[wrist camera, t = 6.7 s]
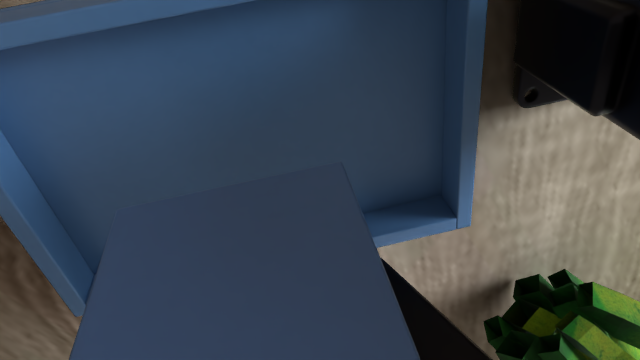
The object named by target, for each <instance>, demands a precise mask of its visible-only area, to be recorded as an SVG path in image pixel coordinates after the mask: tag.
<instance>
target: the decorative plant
mask: <svg viewBox="0 0 640 360" xmlns="http://www.w3.org/2000/svg"><path fill="white" fill-rule="evenodd" d="M548 279H549V280H550V282H551V284H552V286H553V287H552V286H551V285H550V284H549V283H548V282H547V281H546V280H545V279H544V278H543V277H542V276H541V275H540V274H537V275H534V276H530V277H527V278H523V279H520V280H516V281H515V288H514V295H513V298H514V299H515V302H514V304H513V305H512V306H511V307H510V308H509V309H508V311H507V312H506V313H505V314H504V315H503V316H502V318H501V317H500V316H495V317H493V318H490V319H488V320H485V321H483V322H484V326H485V331H486V335H487V340H488V342H489V343H490V344H491V345H492V346H493V347H494V348H495V349H496V354H497V356H498V357H499V359H500V360H640V302H638V301H636V300H634V299H632V298H630V297H628V296H625V295H623V294H621V293H619V292H616V291H614V290H611V289H609V288H606V287H604V286H601V285H599V284H596V283H594V282H590V283H583V282H582V281H581V280H579V279H578V278H577V277H575V276H574V275H572V274H571V273H570V272H568V271H567V270H565V269H563V270H561V271H559V272H557V273H555V274H553V275H551V276H549V277H548ZM635 347H636V348H635Z"/></svg>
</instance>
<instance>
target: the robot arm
mask: <svg viewBox="0 0 640 360" xmlns="http://www.w3.org/2000/svg"><path fill="white" fill-rule="evenodd" d="M514 62H515V63H516V68H515V76H514V84H513V92H512V96H513V99H514V101H515V102H516V103H517V104H519V105H520V106H521V107H523V108H531V107H536V106H541V105H545V104H550V103H555V102H559V101H564V100H570V101H571V102H573V103H574V104H576V105H577V106H579V107H580V108H582V109H583V110H585V111H586V112H588V113H589V114H591V115H593V116H600V115H602V116H604V117H606V118H607V119H609V120H610V121H612V122H613V123H615V124H616V125H618V126H619V127H621V128H622V129H624V130H625V131H627V132H628V133H630V134H632V135H633V136H635V137H636V138H638V139H639V140H640V0H521V2H520V10H519V19H518V27H517V36H516V44H515V53H514ZM531 89H532V91H531V93H530V94H529V95H528V96H526V97H525V94H526V93H527V92H528V91H529V90H531ZM381 261H382V263H383V266H384V269H385V271H386V274H387V276H388V279H389V281H390V284H391V286H392V289H393V291H394V294H395V296H396V299H397V301H398V304H399V306H400V309H401V311H402V314H403V317H404V319H405V322H406V324H407V327H408V329H409V332H410V334H411V337H412V339H413V342H414V344H415V347H416V349H417V352H418V354H419V357H420V360H492V359H491V358H490V357H489V356H488V355H487V354H486V353H485V352H484V351H482V350H481V349H480V348H479V347H478V346H477V345H476V344H475V343H474V342H473V341H472V340H470V339H469V338H468V337H467V336H466V335H465V334H464V333H463V332H462V331H461V330H460V329H458V328H457V327H456V326H455V325H454V324H453V323H452V322H451V321H450V320H449V319H448V318H446V317H445V316H444V315H443V314H442V313H441V312H440V311H439V310H438V309H437V308H435V307H434V306H433V305H432V304H431V303H430V302H429V301H428V300H427V299H426V298H425V297H423V296H422V295H421V294H420V293H419V292H418V291H417V290H416V289H415V288H414V287H413V286H411V285H410V284H409V283H408V282H407V281H406V280H405V279H404V278H403V277H402V276H401V275H399V274H398V273H397V272H396V271H395V270H394V269H393V268H392V267H391V266H390V265H388V264H387V263H386V262H385V261H384V260H383V259H382V258H381Z"/></svg>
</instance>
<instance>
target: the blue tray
mask: <svg viewBox="0 0 640 360" xmlns="http://www.w3.org/2000/svg"><path fill="white" fill-rule="evenodd" d="M487 5H488V0H45V1H39V2H34V3H29V4H23V5H18V6H13V7H7V8H2V9H0V216H1V217H2V218H3V220H4V221H5V223H6V224H7V225H8V227H9V228H10V229H11V231H12V232H13V233H14V235H15V236H16V237H17V239H18V240H19V241H20V243H21V244H22V245H23V247H24V248H25V249H26V251H27V252H28V254H29V255H30V256H31V258H32V259H33V260H34V262H35V263H36V264H37V266H38V267H39V268H40V270H41V271H42V272H43V274H44V275H45V276H46V278H47V279H48V281H49V282H50V283H51V285H52V286H53V287H54V289H55V290H56V291H57V293H58V294H59V295H60V297H61V298H62V299H63V301H64V302H65V303H66V305H67V306H68V308H69V309H70V310H71V312H72V313H73V314H74V316H76V317H78V316H82V315H83V313H84V310H85V307H86V304H87V301H88V298H89V295H90V291H91V288H92V285H93V282H94V279H95V276H96V273H97V270H98V266H99V263H100V260H101V257H102V254H103V251H104V248H105V244H106V241H107V238H108V235H109V232H110V229H111V226H112V223H113V219H114V216H115V213H116V211H117V210H118V209H120V208H125V207H129V206H134V205H139V204H144V203H148V202H153V201H158V200H162V199H167V198H172V197H176V196H181V195H186V194H190V193H195V192H200V191H204V190H209V189H214V188H218V187H223V186H228V185H232V184H237V183H242V182H246V181H251V180H256V179H260V178H265V177H270V176H274V175H279V174H284V173H288V172H293V171H298V170H302V169H307V168H312V167H317V166H321V165H326V164H331V163H335V162H342V163H343V165H344V167H345V170H346V173H347V175H348V178H349V180H350V183H351V185H352V188H353V190H354V193H355V195H356V198H357V200H358V203H359V205H360V208H361V210H362V213H363V215H364V218H365V221H366V223H367V226H368V228H369V231H370V233H371V236H372V238H373V241H374V243H375V246H376V248H378V247H382V246H387V245H391V244H395V243H400V242H404V241H408V240H413V239H417V238H421V237H426V236H430V235H434V234H439V233H443V232H447V231H452V230H455V229H460V228H464V227H468V226H470V225H471V213H472V200H473V187H474V174H475V161H476V148H477V135H478V122H479V109H480V96H481V83H482V70H483V57H484V44H485V31H486V18H487Z"/></svg>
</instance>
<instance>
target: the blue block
mask: <svg viewBox="0 0 640 360" xmlns="http://www.w3.org/2000/svg"><path fill="white" fill-rule="evenodd" d="M69 360H420V357H419V354H418V352H417V349H416V347H415V344H414V342H413V339H412V337H411V334H410V332H409V329H408V327H407V324H406V322H405V319H404V317H403V314H402V311H401V309H400V306H399V304H398V301H397V299H396V296H395V294H394V291H393V289H392V286H391V284H390V281H389V279H388V276H387V274H386V271H385V269H384V266H383V263H382V261H381V258H380V256H379V253H378V251H377V248H376V246H375V243H374V241H373V238H372V236H371V233H370V231H369V228H368V226H367V223H366V221H365V218H364V215H363V213H362V210H361V208H360V205H359V203H358V200H357V198H356V195H355V193H354V190H353V188H352V185H351V183H350V180H349V178H348V175H347V173H346V170H345V167H344V165H343V163H342V162H335V163H331V164H326V165H321V166H317V167H312V168H307V169H302V170H298V171H293V172H288V173H284V174H279V175H274V176H270V177H265V178H260V179H256V180H251V181H246V182H242V183H237V184H232V185H228V186H223V187H218V188H214V189H209V190H204V191H200V192H195V193H190V194H186V195H181V196H176V197H172V198H167V199H162V200H158V201H153V202H148V203H144V204H139V205H134V206H129V207H125V208H120V209H118V210H117V211H116V213H115V216H114V219H113V223H112V226H111V229H110V232H109V235H108V238H107V241H106V244H105V248H104V251H103V254H102V257H101V260H100V263H99V266H98V270H97V273H96V276H95V279H94V282H93V285H92V288H91V291H90V295H89V298H88V301H87V304H86V307H85V310H84V313H83V317H82V320H81V323H80V326H79V329H78V332H77V335H76V338H75V342H74V345H73V348H72V351H71V354H70V357H69Z"/></svg>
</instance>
